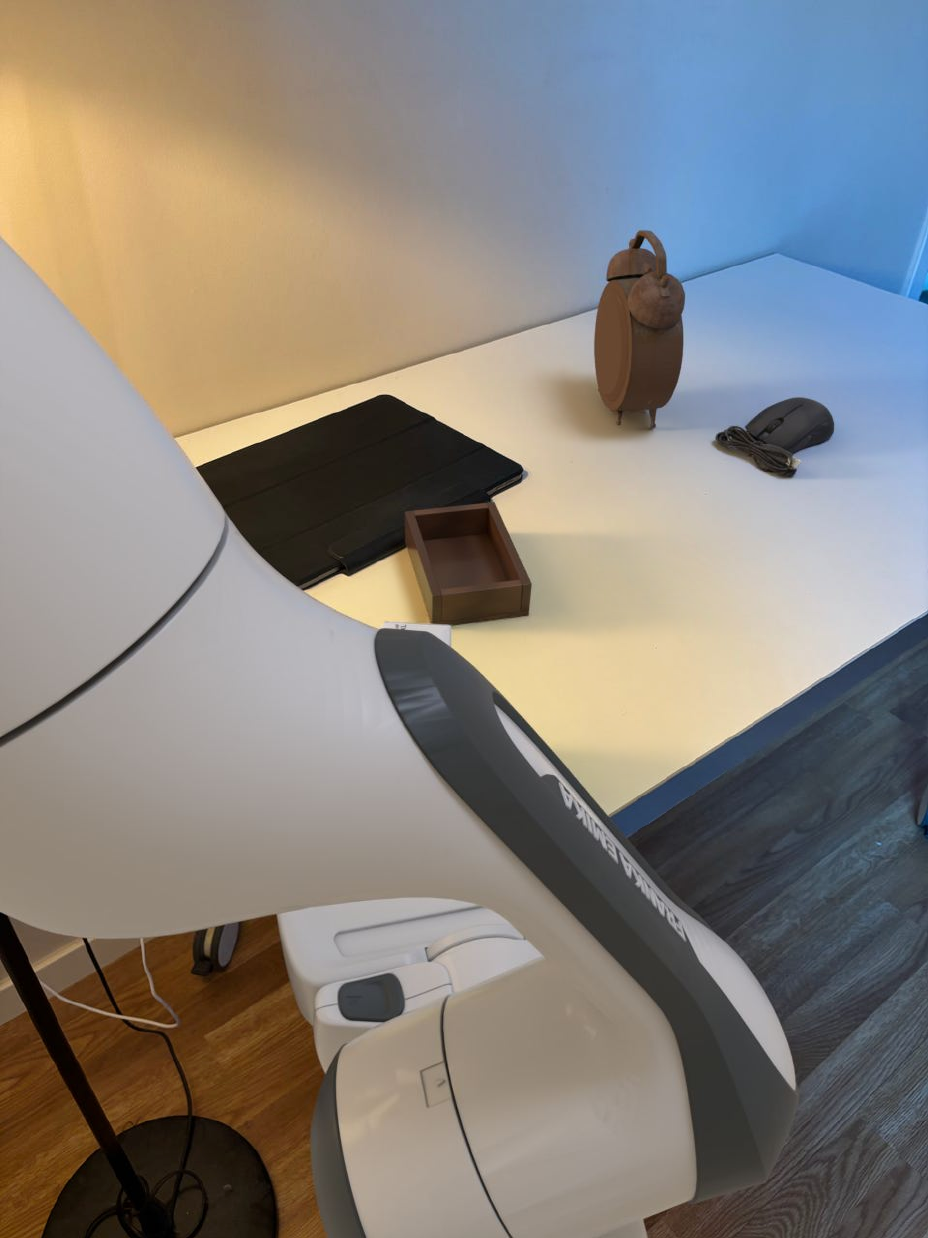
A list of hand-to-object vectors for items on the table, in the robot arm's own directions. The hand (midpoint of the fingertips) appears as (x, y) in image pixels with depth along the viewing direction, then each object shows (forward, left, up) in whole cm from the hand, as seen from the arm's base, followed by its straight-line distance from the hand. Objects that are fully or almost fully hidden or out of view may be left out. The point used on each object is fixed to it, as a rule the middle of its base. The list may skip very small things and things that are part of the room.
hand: (433, 804), depth 59 cm
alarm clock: (+35, +57, -7) cm, 67 cm away
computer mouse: (+50, +47, -7) cm, 69 cm away
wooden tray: (+9, +30, -6) cm, 32 cm away
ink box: (0, +7, -7) cm, 10 cm away
